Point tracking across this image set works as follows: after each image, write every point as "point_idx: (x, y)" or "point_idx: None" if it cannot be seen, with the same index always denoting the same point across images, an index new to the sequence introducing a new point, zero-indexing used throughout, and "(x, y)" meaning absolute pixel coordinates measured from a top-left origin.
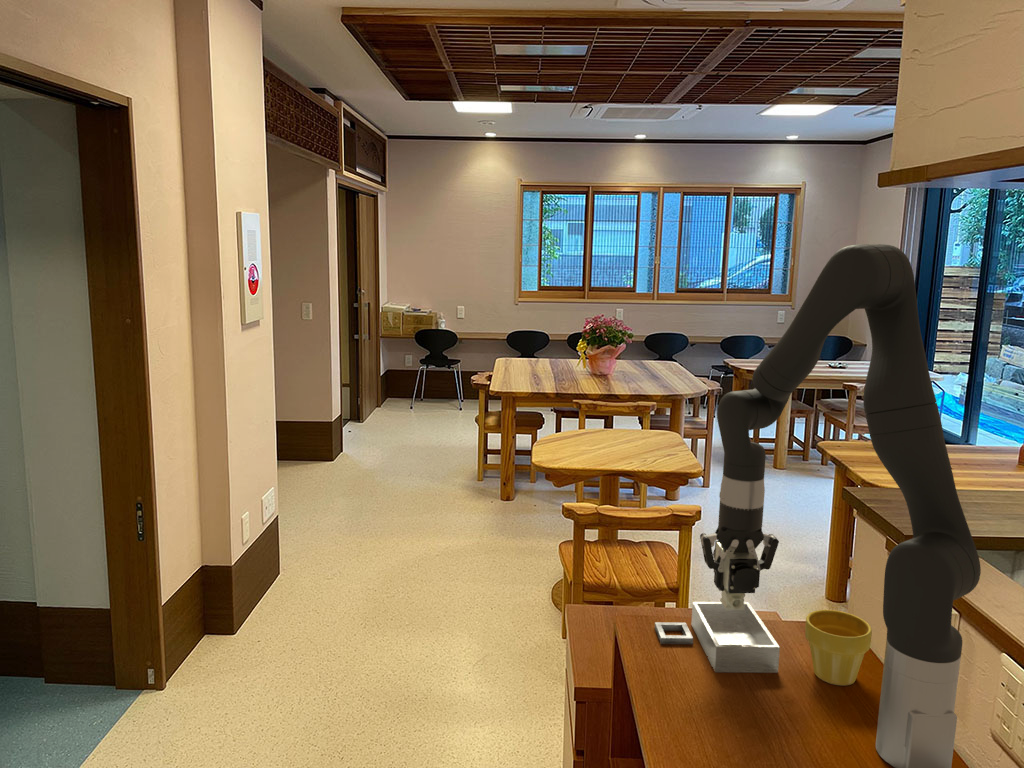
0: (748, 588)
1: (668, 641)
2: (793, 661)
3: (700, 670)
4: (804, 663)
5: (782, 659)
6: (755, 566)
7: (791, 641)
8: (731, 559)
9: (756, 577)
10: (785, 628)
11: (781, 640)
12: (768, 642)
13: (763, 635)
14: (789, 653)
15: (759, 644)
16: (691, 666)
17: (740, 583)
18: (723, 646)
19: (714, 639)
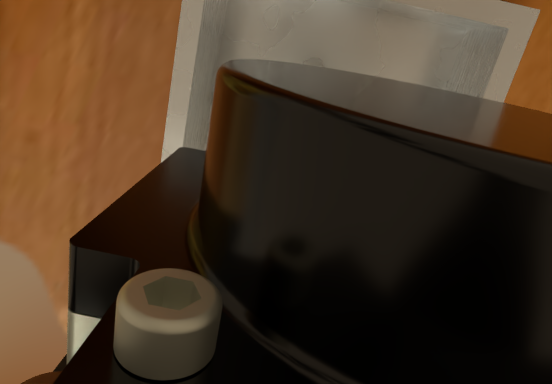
0: (378, 79)
1: None
2: (116, 27)
3: (530, 44)
4: (79, 3)
5: (152, 51)
6: (140, 328)
7: (59, 164)
8: None
9: (252, 70)
10: (42, 247)
11: (93, 179)
12: (203, 49)
13: (193, 119)
14: (104, 87)
15: (203, 143)
16: (547, 82)
17: (536, 117)
18: (500, 2)
19: (497, 87)
